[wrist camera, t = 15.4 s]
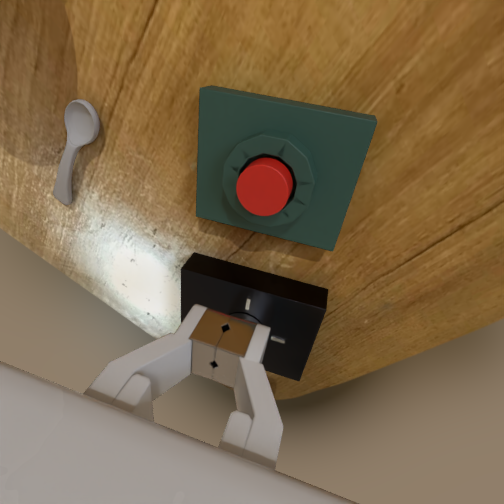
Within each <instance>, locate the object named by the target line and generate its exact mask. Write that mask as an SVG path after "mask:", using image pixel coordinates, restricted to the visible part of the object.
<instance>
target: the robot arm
mask: <svg viewBox="0 0 504 504" xmlns="http://www.w3.org/2000/svg"><path fill="white" fill-rule="evenodd" d="M270 329H271V328H270V327H267V326H264V325H261V324H258V323H255V322H251V321H248V320H245V319H242V318H238V317H235V316H231V315H228V314H225V313H222V312H219V311H217V310H214V309H211V308H207V307H204V306H201V305H199V304H195V305H194V306H193V307H192V308H191V310H190V311H189V313H188V314H187V316H186V317H185V319H184V320H183V322H182V323H181V325H180V326H179V328H178V329H177V331H176V332H175V333H174V334H173V333H169V334H167V335H165V336H163V337H161V338H159V339H157V340H155V341H152V342H150V343H148V344H146V345H144V346H142V347H140V348H138V349H136V350H133V351H132V352H129V353H127V354H125V355H123V356H121V357H119V358H117V359H115V360H113V361H110V362H109V363H108V365H107V366H106V367H105V368H104V369H103V371H102V372H101V373H100V374H99V375H98V377H97V378H96V379H95V380H94V382H93V383H92V384H91V385H90V386H89V388H88V389H87V390H86V391H85V392H84V393H83V394H82V393H79V392H77V391H74V390H72V389H69V388H67V387H64V386H61V385H59V384H57V383H54V382H51V381H49V380H47V379H44V378H42V377H39V376H36V375H34V374H31V373H29V372H26V371H24V370H21V369H19V368H16V367H14V366H11V365H9V364H6V363H4V362H1V361H0V504H359V503H356V502H353V501H351V500H348V499H346V498H343V497H341V496H338V495H336V494H333V493H331V492H328V491H326V490H323V489H321V488H318V487H316V486H313V485H311V484H308V483H306V482H303V481H301V480H298V479H296V478H293V477H290V476H288V475H286V474H283V473H280V472H277V471H275V466H276V461H277V456H278V451H279V447H280V442H281V437H282V432H283V424H282V421H281V418H280V415H279V412H278V409H277V405H276V402H275V399H274V396H273V393H272V390H271V387H270V384H269V381H268V378H267V375H266V372H265V369H264V366H263V364H262V360H263V357H264V353H265V349H266V345H267V341H268V337H269V333H270ZM191 373H193V374H196V375H200V376H202V377H205V378H208V379H211V380H214V381H217V382H219V383H222V384H224V385H227V386H229V387H232V388H234V393H235V399H236V405H237V410H236V411H234V412H232V413H231V415H230V418H229V420H228V423H227V425H226V428H225V431H224V433H223V436H222V439H221V441H220V444H219V446H218V447H215V446H213V445H210V444H208V443H205V442H203V441H200V440H198V439H195V438H193V437H190V436H187V435H185V434H183V433H180V432H178V431H175V430H172V429H170V428H167V427H165V426H162V425H160V424H157V423H155V422H154V417H153V407H152V401H153V400H155V399H156V398H158V397H159V396H161V395H162V394H163V393H165V392H166V391H168V390H169V389H170V388H172V387H173V386H175V385H176V384H177V383H179V382H180V381H182V380H183V379H184V378H186V377H187V376H189V375H190V374H191Z"/></svg>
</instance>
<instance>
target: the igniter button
mask: <svg viewBox="0 0 504 504" xmlns="http://www.w3.org/2000/svg"><path fill="white" fill-rule="evenodd" d="M292 187H293V181H292V176H291V174H290V172H289V170H288V169H287V167H286V166H285V165H284V164H283V163H281V162H280V161H278V160H276V159H273V158H260V159H257V160H255V161H253V162H252V163H250V164H249V165H248V167H247V168H246V169H245V170H244V171H243V172H242V173H241V174H240V176H239V178H238V180H237V184H236V192H237V196H238V199H239V201H240V202H241V204H242V205H243V207H244V208H246V209H247V210H248V211H249V212H251V213H253V214H256V215H259V216H270V215H273V214H276V213H278V212H279V211H280V210H282V209H283V207H284V206H285V205H286V203H287V201H288V198H289V196H290V194H291V191H292Z"/></svg>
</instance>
